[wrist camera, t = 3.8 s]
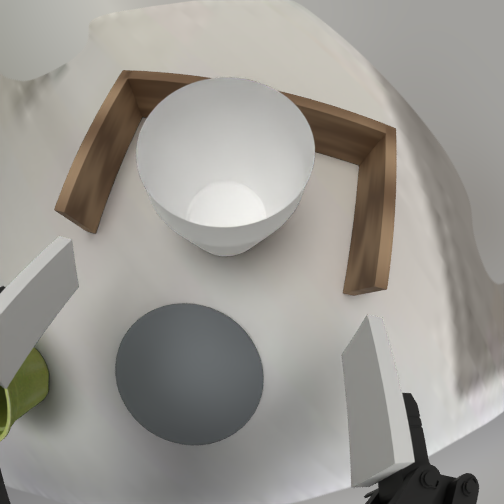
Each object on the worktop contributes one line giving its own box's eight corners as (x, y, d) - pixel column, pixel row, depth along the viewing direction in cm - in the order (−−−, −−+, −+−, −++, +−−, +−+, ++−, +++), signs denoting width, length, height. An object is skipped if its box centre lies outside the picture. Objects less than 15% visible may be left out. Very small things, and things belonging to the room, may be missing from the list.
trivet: (92, 371, 22) (89, 372, 21) (184, 272, 24) (182, 271, 24) (195, 465, 21) (195, 468, 20) (292, 372, 23) (294, 374, 23)
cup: (300, 214, 26) (351, 142, 14) (230, 294, 24) (231, 275, 12) (223, 151, 27) (222, 54, 15) (151, 222, 25) (98, 152, 13)
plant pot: (30, 305, 22) (-31, 297, 14) (83, 391, 21) (29, 416, 13) (-15, 354, 21) (-70, 358, 12) (31, 432, 20) (-19, 457, 11)
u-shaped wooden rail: (353, 295, 25) (387, 289, 19) (86, 231, 24) (54, 209, 18) (368, 159, 28) (395, 128, 22) (137, 108, 27) (122, 70, 21)
